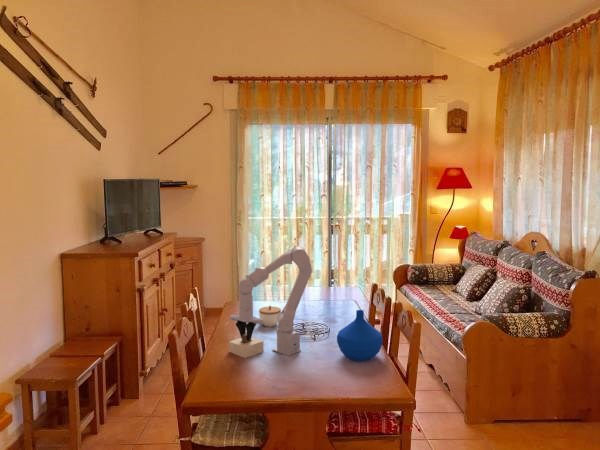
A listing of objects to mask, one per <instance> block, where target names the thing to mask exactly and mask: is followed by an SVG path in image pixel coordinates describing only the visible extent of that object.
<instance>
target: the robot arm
mask: <svg viewBox="0 0 600 450" xmlns="http://www.w3.org/2000/svg"><path fill="white" fill-rule="evenodd" d="M310 260H311V259H310V257H309V255H308V253H307V252H306V250H305V249H304V247H303V246H300V245H296V246H293V247H292V249H288V250H287V251H284V253H282V254H281V255H279V256H278V257H277V258H276V259H274V260H273V261H272V262H270V263H269V264H268V265H266V266H265V267H264V266H263V267H262V266H259V267H256V268H254V271H251V272H250V274H246V275H245V276H244V277H243V278H241V279H240V280H239V282H238V295H239V296H238V315H237V314H236V315H235V314H231V315H230V316H229V320H230V321H232V322H233V321H236V323H235V326H236V328H237V330H238V332H239V335H240V338H241V339H242V335H243V334H245V333H247V340H250V339H251V337H253V334H254V333H253V332H254V331H255V328H256V326H257V325H258V326H261V325H262V324H263V322H262V319H260V317H259V318H258V317H257V316H254V304H253V302H254V296H253V291H254V288H256V287H258V286H259V285H261V284H262V283H264V282H265V281H267V280H268V279H269V276H270V274H271V273H273V272H274V271H276V270H277V269H280V267H283V266H284V265H293V263H294V264H295V265H296V266H297V268H298V271H299V272H298V273H297V276H296V278H295V281H294V284H293V287H292V289H291V291H290V293H289V296H288V298H287V301H286V303H285V305H284V306H283V309H281V313H279V315H278V317H277V320H278V323H277V327H276V347H275V348H274V347H273V348H272V351H273V352H276V353H279V354H282V355H285V356H289V357H290V356H292V355H294V354H297V353H298V352H301V351H302V350H301V347H300V346H301V344H300V343H301V341H300V339H301V336H300V334H299V333H298V332H296V331H295V328H294V320H295V318H296V317H295V316H296V313H297V312H296V311H297V309H298V307H299V304H300V302H301V300H302V297H303V294H304V292H305V290H306V287H307V285H308V282H309V280H310V278H311V275H312V272H313V270H312V265H311V261H310ZM263 325H264V324H263Z"/></svg>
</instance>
